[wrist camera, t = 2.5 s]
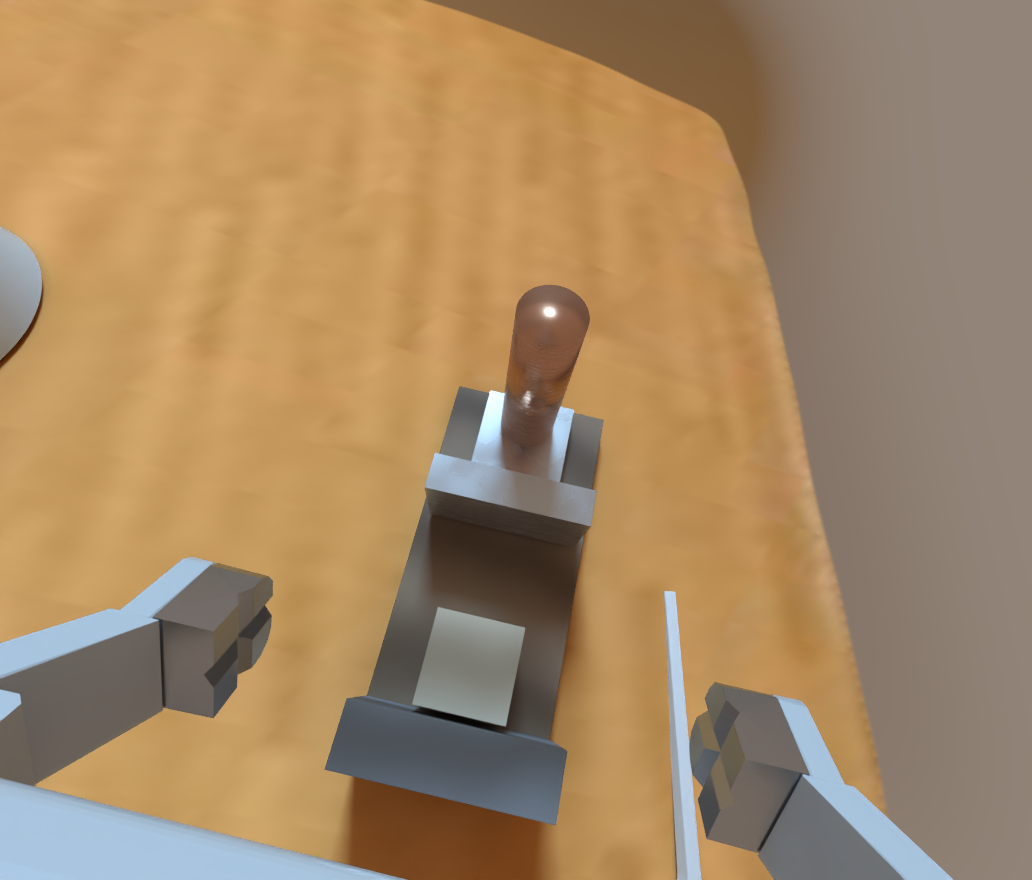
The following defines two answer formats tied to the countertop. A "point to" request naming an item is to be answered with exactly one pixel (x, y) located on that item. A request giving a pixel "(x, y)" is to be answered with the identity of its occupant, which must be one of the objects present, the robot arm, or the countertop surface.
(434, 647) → the block
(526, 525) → the press handle
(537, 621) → the base
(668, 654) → the fork
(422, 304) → the countertop surface
